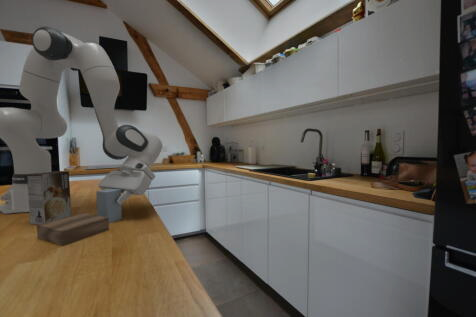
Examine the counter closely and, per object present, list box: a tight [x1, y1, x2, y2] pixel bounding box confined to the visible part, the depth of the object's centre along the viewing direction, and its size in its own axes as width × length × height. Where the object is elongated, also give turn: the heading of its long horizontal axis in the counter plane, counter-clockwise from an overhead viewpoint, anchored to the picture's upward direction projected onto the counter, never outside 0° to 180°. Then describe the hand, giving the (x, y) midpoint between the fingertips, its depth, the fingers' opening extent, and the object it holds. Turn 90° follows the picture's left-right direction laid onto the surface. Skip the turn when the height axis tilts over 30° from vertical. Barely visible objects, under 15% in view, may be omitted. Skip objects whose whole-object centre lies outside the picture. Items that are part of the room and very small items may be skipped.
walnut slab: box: [36, 212, 110, 247], centre depth 64 cm, size 12×12×4 cm
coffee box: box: [27, 170, 72, 225], centre depth 76 cm, size 9×6×16 cm
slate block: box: [95, 189, 123, 224], centre depth 75 cm, size 5×5×10 cm
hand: (110, 202), depth 76 cm, fingers open, 6 cm apart
